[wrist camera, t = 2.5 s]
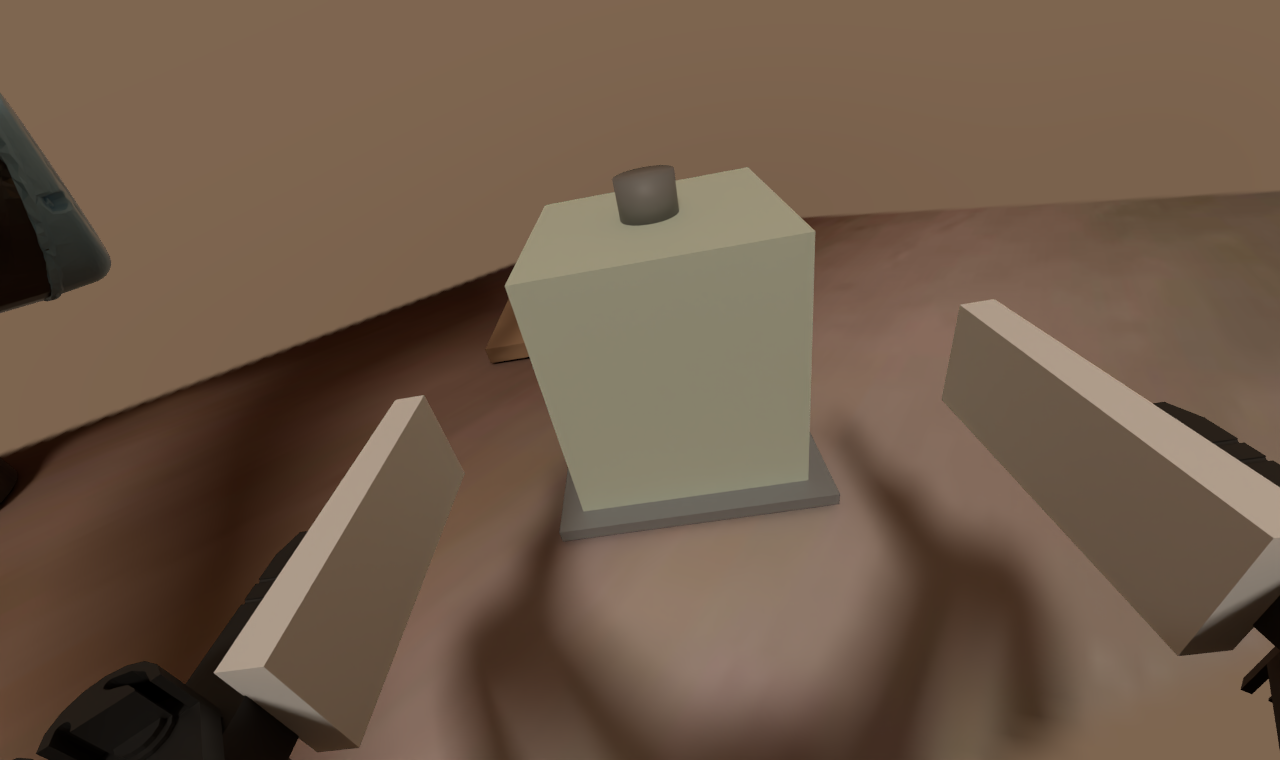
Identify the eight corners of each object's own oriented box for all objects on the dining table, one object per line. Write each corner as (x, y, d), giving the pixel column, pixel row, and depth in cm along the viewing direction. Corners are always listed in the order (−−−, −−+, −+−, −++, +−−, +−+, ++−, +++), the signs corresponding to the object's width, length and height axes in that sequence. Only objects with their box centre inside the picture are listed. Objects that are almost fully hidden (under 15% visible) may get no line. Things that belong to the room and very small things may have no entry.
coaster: (562, 541, 22) (559, 532, 21) (582, 386, 32) (579, 379, 31) (839, 504, 21) (840, 494, 20) (769, 356, 31) (769, 348, 30)
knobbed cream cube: (583, 511, 22) (487, 238, 15) (594, 385, 30) (536, 171, 23) (808, 480, 21) (816, 177, 14) (756, 359, 30) (746, 130, 23)
